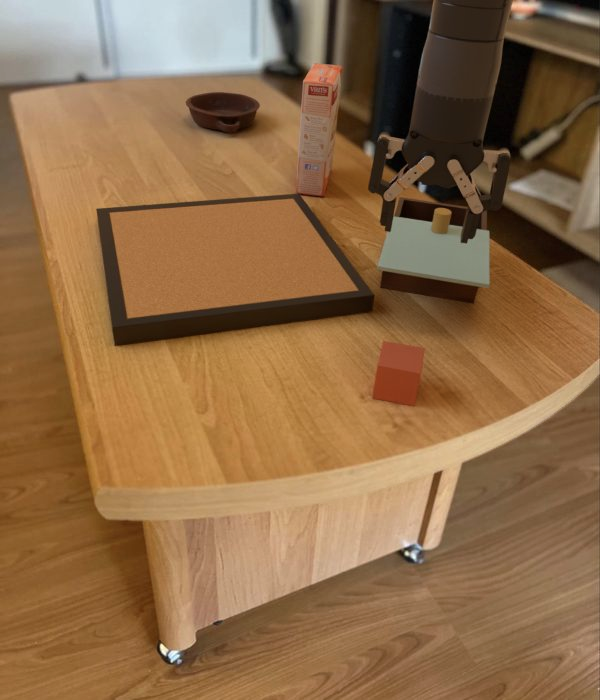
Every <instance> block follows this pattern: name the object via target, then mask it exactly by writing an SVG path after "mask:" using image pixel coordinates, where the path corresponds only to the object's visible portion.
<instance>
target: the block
mask: <svg viewBox="0 0 600 700" xmlns="http://www.w3.org/2000/svg"><path fill="white" fill-rule="evenodd" d="M425 350H426V348H424V347H419V346H414V345H409V344H404V343H397V342H393V341H388V340H387V341H386V340H383V341H382V342H381V348H380V353H379V355H378V356H379V357H378V361H377V364H376V372H375V379H374V384H373V388H372V389H373V390H372V396H371V398H372V399H375V400H381V401H385V402H391V403H396V404H401V405H406V406H411V407H415V404H416V400H417V396H418V395H417V394H418V390H419V386H420V382H421V376H422V372H423V371H422V370H423V364H424V357H425Z"/></svg>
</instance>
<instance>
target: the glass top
mask: <svg viewBox="0 0 600 700" xmlns="http://www.w3.org/2000/svg"><path fill="white" fill-rule="evenodd" d="M451 213H452V212H451V211H450V210H449V209H446V208H437V209H435V211H434V216H433V221H432V222H428V221H421V220H415V219H408V218H401V217H395V216H394V217H393V223H392V228H391V232H387V231H386V234H385V239H384V242H383V245H382V249H381V253H380V255H379V256H380V257H379V259H378V263H377V266H376V270H377V271H382V272H383V271H387V272H393V273H399V274H405V275H411V276H417V277H423V278H429V279H435V280H441V281H447V282H453V283H459V284H466V285H472V286H478V288H484V289H489V288H490V285H491V283H490V281H491V280H490V277H491V276H490V275H491V273H490V270H491V268H490V266H491V265H490V261H491V260H490V253H491V252H490V250H491V249H490V230H488V229H487V230H480V229H477V230H476V235H475V237H474V238H473V239H468V242H467V244H466V243H461V232H462V228H463V227H461V226H454V225H449V223H450V218H451Z"/></svg>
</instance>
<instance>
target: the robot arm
mask: <svg viewBox="0 0 600 700" xmlns="http://www.w3.org/2000/svg"><path fill="white" fill-rule="evenodd" d="M513 2H514V0H433V2H432V7H431V13H430V19H429V26H428V31H427V36H426V40H425V43H424V45H423V50H422V53H421V58H420V63H419V68H418V72H417V81H416V88H415V93H414V99H413V106H412V111H411V117H410V118H411V119H410V124H409V131H408V133H407V135H406V137H405V138H398V137H393V136H391V135H390V133H389V132H387V131H382V132H380V134H379V135H378V139H377V140H376V141H377V142H376V145H375V149H374V154H373V155H374V156H373V161H372V166H371V171H370V176H369V180H368V186H367V191H369V193H371V194H377V195H379V196H380V197H381V199H382V204H381V212H380V218H379V223H380V226H381V227H384V232H386V233H387V232H391V228H392V223H393V217H394V215H395V211H396V204H397V198H398V196H399V195H400V194H401V193H403V191H405V190H407V189H408V188H409V187H411V185H413V184H414V183H415V182H416V181H417V182H419V183H421V185H422V186H438V187H441V188H444V189H450V190H451V188H452V187H456V186H457V187H458V189H459V191H460V193H461V195H462V197H463V198H464V199H465V201H466V203H467V204H468V205H467V206H466V207H467V211H466V215H465V219H464V223H463V228H462V232H461V243H466V244H467V242H468V239H473V238H474V237H475V235H476V230H477V227H478V223H479V219H480V215H481V214H482V212H484V211H486V210H487V211H492V212H493V211H494V212H497V211H499V210H501V208H502V206H503V201H504V196H505V193H506V192H505V191H506V187H507V182H508V177H509V173H510V172H509V171H510V167H511V161H512V159H511V152H510V150H509V149H508V148H507V147H501V148H499V149H498V150H491V149H484V147H483V142H484V137H485V134H486V129H487V125H488V120H489V116H490V112H491V107H492V103H493V99H494V95H495V91H496V87H497V83H498V79H499V75H500V70H501V65H502V58H503V57H502V56H503V47H504V41H505V36H506V32H507V27H508V23H509V19H510V15H511V10H512V5H513ZM398 151H399V152H400V151H401V154H402V156H403V158H404V159H405V162H406V164H405V165H404V166H403V167H402V168H401V169H400V171H399V172H398V173H397V174H396V175H395V176H394V177H393V178H392V179H391V180H390V181H387V180H385V179H384V178H383V174H384V170H385V165H386V161H387V160H391V159H393V157H394V156H395V154H396V153H397V152H398ZM483 162H484V163H486V164H487V169H488V171H489V172H490V173H491V174H492V180H491V184H490V190H489V194H481V192H480V190H479V187H478V186H477V183H476V182H475V181H476V180H475V179H474V177H473V175H472V173H473V172H474V171H475V170H476V169H478V167H480V166H481V164H482V163H483Z"/></svg>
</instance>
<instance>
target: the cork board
mask: <svg viewBox="0 0 600 700" xmlns="http://www.w3.org/2000/svg"><path fill="white" fill-rule="evenodd" d="M95 211H96V218H97V225H98V232H99V240H100V248H101V256H102V263H103V269H104V277H105V285H106V293H107V301H108V309H109V316H110V322H111V330H112V336H113V337H112V338H113V342H114V346H115V347H116V346H123V345H131V344H138V343H146V342H154V341H161V340H168V339H176V338H185V337H192V336H199V335H205V334H206V335H207V334H214V332H215V333H222V331H223V332H228V331H229V332H230V331H236V330H237V329H238V330H244V329H245V330H246V329H251V328H252V329H253V328H259V327H268V326H275V324H276V325H282V324H290V323H298V322H304V321H312V320H321V319H328V318H335V317H343V316H351V315H358V314H366V313H372V312H373V308H374V302H375V294H374V292H373V291H372V290H371V288H370V287H369V286H368V284H367V283H366V282H365V280H364V279H363V278H362V276H361V275H360V274H359V272H358V270H356V268H355V267H354V265H353V264H352V263H351V261H350V260H349V258H348V257H347V256H346V255H345V253H344V252H343V250H342V249H341V248H340V247H339V245H338V244H337V242H336V241H335V240H334V239H333V237H332V236H331V234H330V233H329V232H328V230H327V229H326V227H325V226H324V225H323V224H322V222H321V221H320V219H319V218H318V217H317V216H316V214H315V213H314V211H313V210H312V208H310V206H309V205H308V203H307V202H306V201H305V199H304V198H303V197H302V194H297V193H286V194H273V195H260V196H259V195H258V196H248V197H233V198H222V199H221V198H220V199H208V200H193V201H181V202H180V201H179V202H165V203H153V204H140V205H126V206H113V207H99V208H98V207H97V208H96V209H95ZM238 330H237V331H238Z"/></svg>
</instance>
